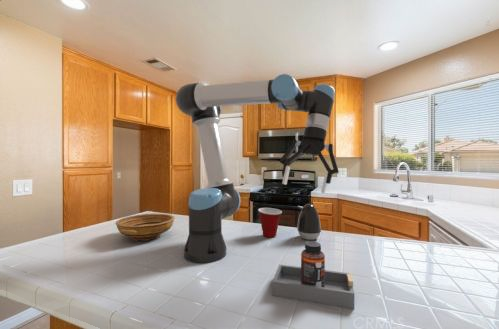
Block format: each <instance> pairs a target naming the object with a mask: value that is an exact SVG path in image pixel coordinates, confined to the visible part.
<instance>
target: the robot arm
mask: <svg viewBox="0 0 499 329" xmlns="http://www.w3.org/2000/svg"><path fill="white" fill-rule="evenodd" d="M335 94H336V90H335V88H334V87H333V86H332V85H329V84H324V83H322V84H317V85H316V86H314V88H313V90H302V89H301V88H300V86H299V84H298V82H297V80H296V79H295V78H294V77H293V76H292V75H290V74H288V73H287V74H286V73H282V74H279V75H277V76H276V77H275V78H274V79H266V80H265V79H264V80H255V81H254V80H252V81H243V82H228V83H215V84H207V85H206V84H205V83H203V82H195V83H187V84H184V85H182V86H181V87H179V89H178V90H177V92H176V94H175V103H176V107H178V109H179V111H180V112H181V113H183V114H185V115H186V116H189V117H191V122H192V126H193V127H195V128H196V129H197V133H198V138H199V143H200V148H201V153H202V158H203V163H204V168H205V172H206V173H205V174H206V178H207V185H206V187H205V188H204V187H203V188H199V189H195V190H193V191H192V192H190V193H189V197H188V202H187V203H188V204H187V205H188V236H187V239H186V241H185V242H186V243H185V245H184V249H183V258H184V259H185V260H186V261H189V262H192V263H203V264H205V263H212V262H217V261H219V260H222V259H223V258H225V257H226V255H227V246H226V242H225V239H224V236H223V233H222V232H223V231H222V230H223V229H222V224H223V223H222V220H224V219H226V218H228V217H231V216H232V215H234V214H235V213H236V212H238V210H239V208H240V207H241V202H242V200H241V195H240V193H239V191H238V190H236V189H235V186H234V182H233V181H231V180H230V179H229V175H228V170H227V164H226V160H225V155H224V151H223V145H222V142H221V135H220V131H219V127H218V124H219V123H220V121H221V119H220V115H221V114H222V107H229V106H230V107H231V106H247V105H267V104H276V105H277V108H278V109H279V110H283V111H294V112H303V113H308V114H307V118H306V123H305V127H304V132H303V136H302V139H301V140H297V139H295V138H294V139H293V140H292V143H291V145H290V147H289V148H288V149H287V150H286V151H285V153H284V154H283V155H282V156H281V158H280V159H279V163H280V164H282V165H283V166H282V171H281V174H282V175H283V178H282V182H281V184H282V185H287V184H288V180H289V175H290V172H291V171H290V170H291V165H292V164H293V163H295V161H297V160H298V159H299V158H300V157H301V156H304V155H306V156H307V155H308V156H312V157H313V156H314V157H316V156H318V157H319V159H320V161H321V163H322V164H323V166H324V168H325V169H326V171H327V172H325V173H324V177H323V182H322V187H321V193H322V194H326V190H327V186H328V184H329V185H330V184H331V182H332V179H333V178H332V176H333V175H335V174H339V172H340V171H339V168H338V165H337V160H336V157H335V154H334V145H333V143H329V144H325V143H326V138H327V133H328V132H327V131H328V129H329V128H328V127H329V124H330V118H331V114H332V110H333V106H334V103H335V96H336V95H335ZM299 146H300V147H301V148H299V149H298V150H297V151H296V152H295V150H296V149H297V147H299ZM324 150H326V151H327V152H328V154H329V158H330V161H331V162H330V163H331V165H332V168H333V169H332V168H331V167H330V164H328V162H327V160H326V158H325V157H324V155H323V154H322V151H324ZM294 152H295V153H294ZM293 153H294V154H293ZM292 154H293V155H292Z"/></svg>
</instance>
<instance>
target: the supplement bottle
mask: <svg viewBox="0 0 499 329" xmlns="http://www.w3.org/2000/svg"><path fill="white" fill-rule="evenodd" d="M304 248H305V249H303V250H302V251H301V254H300V255H301V256H300V264H301V265H300V267H301V284H304V285H311V286H318V287H324V285H325V269H326V264H325V263H326V262H325V261H326V260H325V259H326V258H325V254H324V252H323V251H322V245H321V242H319V241H313V240H309V241H306V242H304Z"/></svg>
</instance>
